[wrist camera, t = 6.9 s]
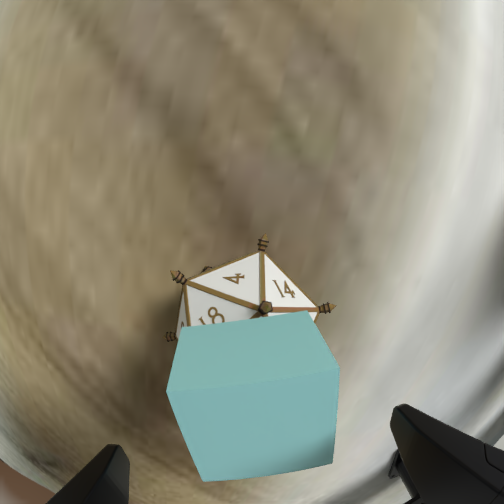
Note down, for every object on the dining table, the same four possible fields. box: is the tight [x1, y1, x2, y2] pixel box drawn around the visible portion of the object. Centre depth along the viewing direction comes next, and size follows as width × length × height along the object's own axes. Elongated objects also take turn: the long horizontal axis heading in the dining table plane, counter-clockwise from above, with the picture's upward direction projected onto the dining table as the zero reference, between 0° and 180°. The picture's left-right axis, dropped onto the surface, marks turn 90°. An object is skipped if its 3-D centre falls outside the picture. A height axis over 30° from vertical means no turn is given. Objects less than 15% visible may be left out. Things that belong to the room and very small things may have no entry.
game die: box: [163, 234, 336, 342], centre depth 16 cm, size 9×8×10 cm
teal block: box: [166, 310, 340, 481], centre depth 11 cm, size 5×5×4 cm
